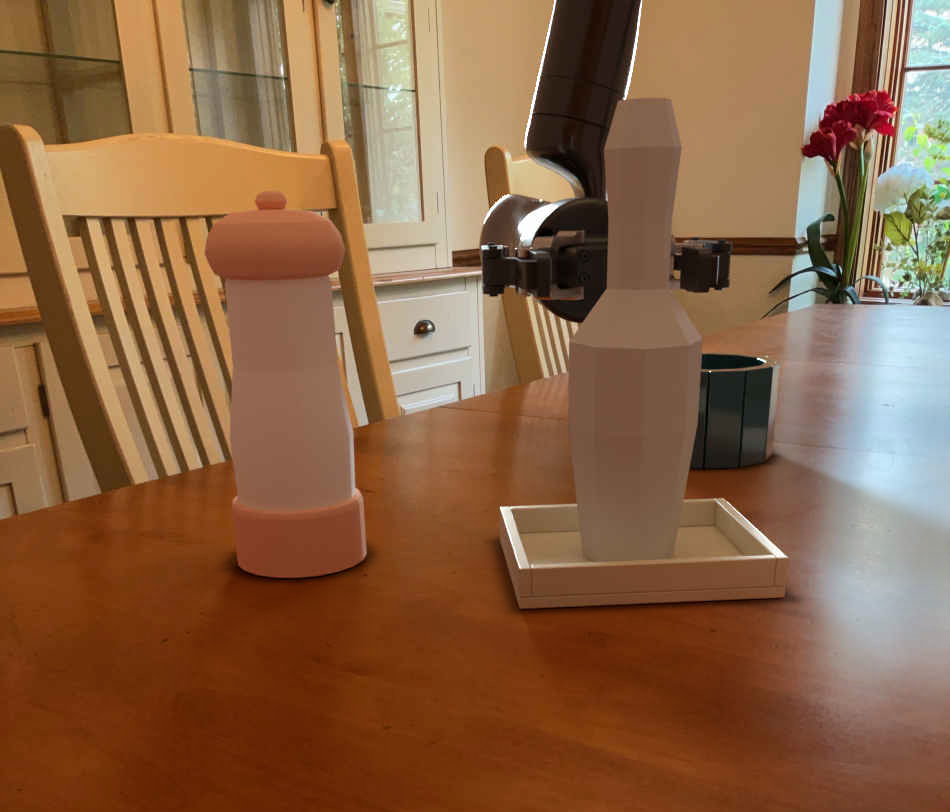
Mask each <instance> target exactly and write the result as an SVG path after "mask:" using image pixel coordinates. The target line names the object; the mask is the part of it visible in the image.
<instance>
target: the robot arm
mask: <svg viewBox="0 0 950 812" xmlns="http://www.w3.org/2000/svg"><path fill="white" fill-rule="evenodd" d="M642 4H643V0H554V4H553V10H552V14H551V18H550V23H549V27H548V32H547V36H546V41H545V46H544V49H543V50H544V51H543V54H542V59H541V63H540V68H539V71H538V76H537V81H536V87H535V92H534V95H533V99H532V104H531V109H530V115H529V119H528V123H527V127H526V132H525V138H524V139H525V140H524V150H525V153H526V155H527V157H528V158H529V160H531V161H533V162H534V163H536V164H537V165H539V166H541V167H543V168H544V169H547V170H549V171H551V172H552V173H555V174H557V175H559V176H560V177H562V178H563V179H565V181H566V182H568V183H569V185H570V187H571V189H572V192H573V195H574V197H569V198H568V197H567V198H563V199H558V200H556V201H553V202H552V201H547V200H543V199H539V198H536V197H532V196H528V195H523V194H519V193H510V194H507V195H504V196H502V198H500V199H499V200H498V201H497V202H495V204H494V205H493V206H492V207H491V208H490V210H489V212H488V213H487V215H486V217H485V219H484V221H483V224H482V226H481V231H480V235H479V247H478V249H479V258H480V263H481V289H482V294H483V295H488V296H489V297H490V298H496V297H499V295H504V294H505V289H509V288H512V289H515V290H514V291H515V295H521V297H522V298H528V297H531V298H532V299H533V300H534V301H536V303H538V304H539V305H541V307H543V308H545V309H546V310H547V311H549V312H550V313H552V315H555V316H556V317H558V318H560V319H562V320H563V321H564V320H565V321H567V322H571V323H574V324H582V323H583V321H584V320H585V319H586V317H587V316H588V314H589V313H590V311H591V310H592V309H593V307H594V306H595V304H596V303H597V301H598V300H599V299H600V297H601V296H602V294H603V293H604V291H605V290H606V289H607V261H608V222H609V218H608V202H607V187H606V172H605V156H604V148H605V145H606V141H607V138H608V134H609V131H610V127H611V124H612V120H613V117H614V114H615V110H616V107H617V103H618V101H620V100H626V99H627V95H628V92H629V87H630V84H631V78H632V73H633V68H634V62H635V58H636V57H635V56H636V51H637V43H638V38H639V37H638V36H639V29H640V23H641V12H642ZM732 251H733V242H730V241H727V239H716V240H711V239H700V237H698V236H696V237H695V236H694V237H693V236H692V237H690V239H685V240H683V241H682V242H677V241H676V237H675V236H674V235H673V234H672V233H671V252H670V273H669V288H670V289H671V291H672V292H673V291H674V290H684V291H686V293H693V294H704V293H705V294H707V293H709V292H710V289H713V291H723V290H724V289H727V288H730V284H731V283H730V282H731V278H730V272H731V271H730V270H731V257H732V256H731V255H732V253H731V252H732ZM674 271H679V273H680V274H679V278H676V277H675V275H674Z"/></svg>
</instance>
